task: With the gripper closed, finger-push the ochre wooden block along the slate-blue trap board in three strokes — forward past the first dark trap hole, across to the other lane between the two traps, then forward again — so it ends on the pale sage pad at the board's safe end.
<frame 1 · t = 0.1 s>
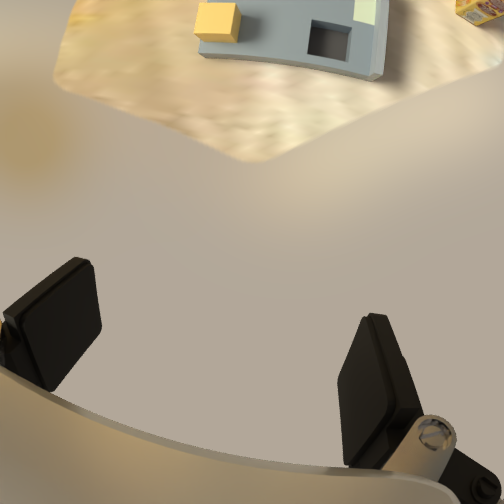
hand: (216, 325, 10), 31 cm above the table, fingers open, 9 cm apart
trap board: (290, 16, 30), on the table
block: (222, 27, 29), point 3 cm above the table, touching trap board
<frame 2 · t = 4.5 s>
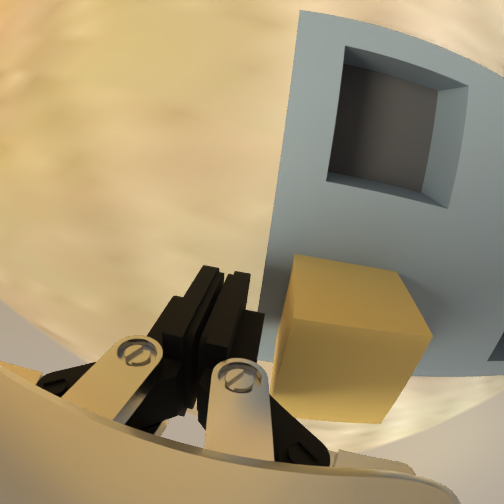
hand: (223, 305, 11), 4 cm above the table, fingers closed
trap board: (471, 228, 13), on the table
block: (334, 308, 12), point 3 cm above the table, touching gripper
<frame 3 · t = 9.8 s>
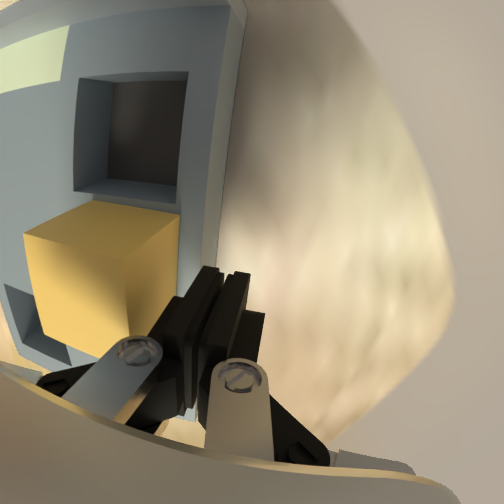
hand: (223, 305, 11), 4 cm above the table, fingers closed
trap board: (93, 223, 15), on the table
block: (132, 254, 12), point 3 cm above the table, touching gripper, trap board
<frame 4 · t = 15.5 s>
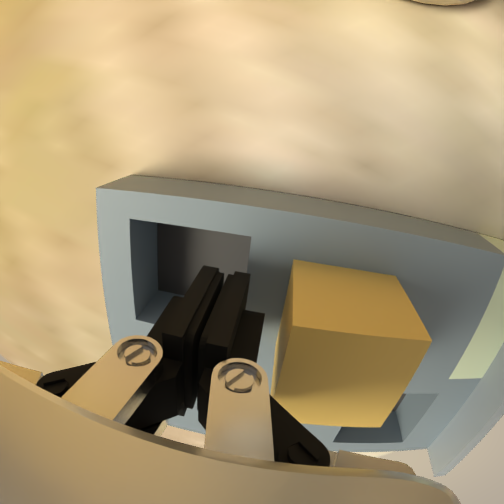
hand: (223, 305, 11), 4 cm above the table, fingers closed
trap board: (313, 332, 16), on the table
block: (333, 313, 12), point 3 cm above the table, touching gripper
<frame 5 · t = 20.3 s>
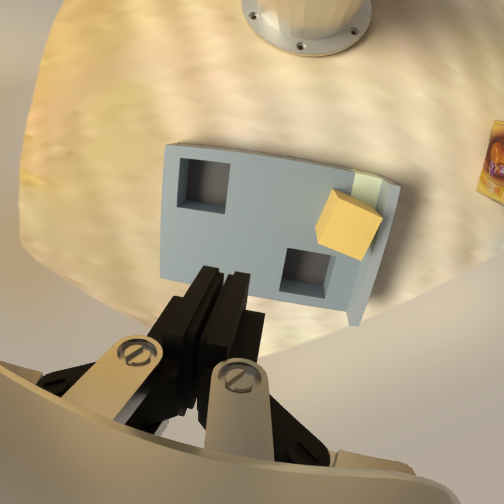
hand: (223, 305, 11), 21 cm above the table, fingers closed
trap board: (264, 222, 32), on the table
block: (343, 216, 27), point 3 cm above the table, touching trap board
candy box: (496, 161, 25), on the table
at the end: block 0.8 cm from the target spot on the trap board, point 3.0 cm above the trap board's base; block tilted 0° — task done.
